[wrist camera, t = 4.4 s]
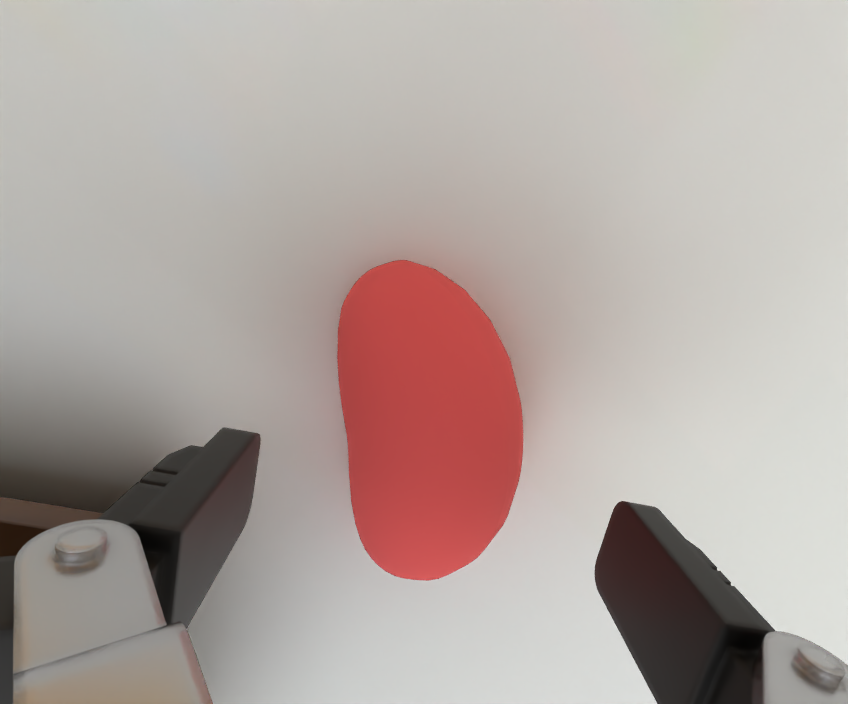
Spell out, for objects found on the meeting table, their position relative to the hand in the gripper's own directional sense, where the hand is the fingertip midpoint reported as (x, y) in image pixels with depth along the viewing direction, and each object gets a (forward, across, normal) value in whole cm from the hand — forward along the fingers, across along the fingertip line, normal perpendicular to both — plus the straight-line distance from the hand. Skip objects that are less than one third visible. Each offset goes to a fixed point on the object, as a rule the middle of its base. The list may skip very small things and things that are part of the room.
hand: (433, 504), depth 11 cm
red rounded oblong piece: (+6, 0, 0) cm, 6 cm away
